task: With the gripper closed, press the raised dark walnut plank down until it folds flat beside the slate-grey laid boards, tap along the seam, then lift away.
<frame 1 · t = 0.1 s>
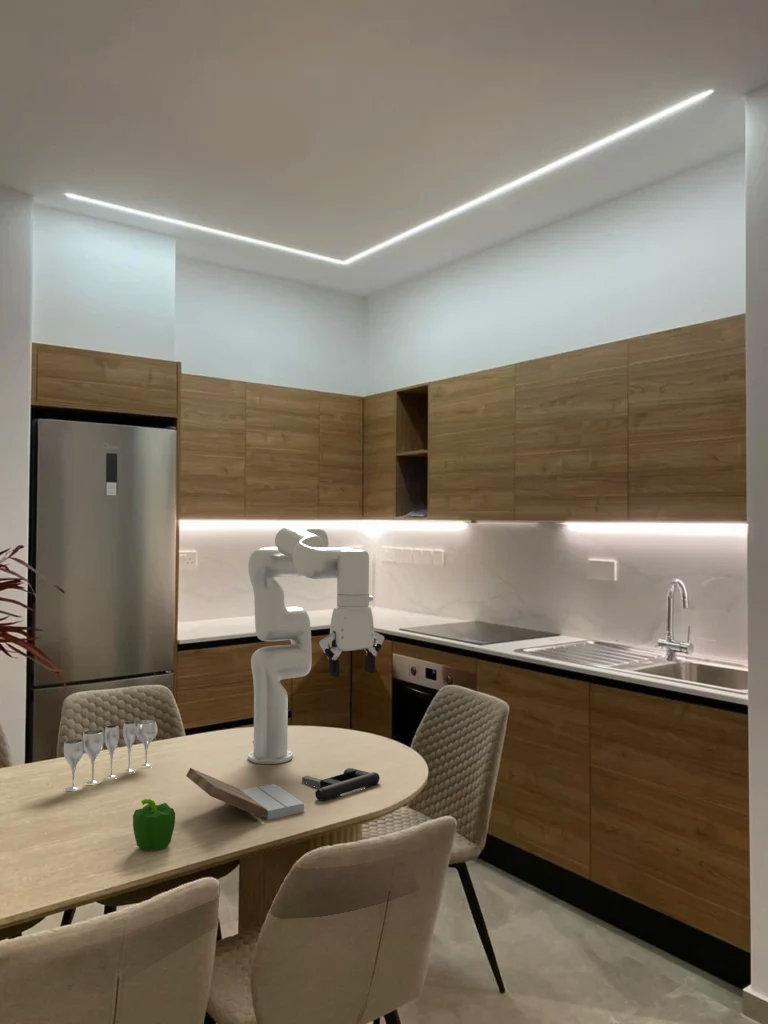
hand: (352, 674, 184), 31 cm above the table, tool pointing down, fingers open, 9 cm apart
goblet set: (112, 777, 204), on the table
door handle: (334, 788, 198), on the table
bell pepper: (153, 847, 160), on the table
laid boards: (271, 805, 184), on the table
plank: (225, 792, 178), point 5 cm above the table, hinge at 30.0°
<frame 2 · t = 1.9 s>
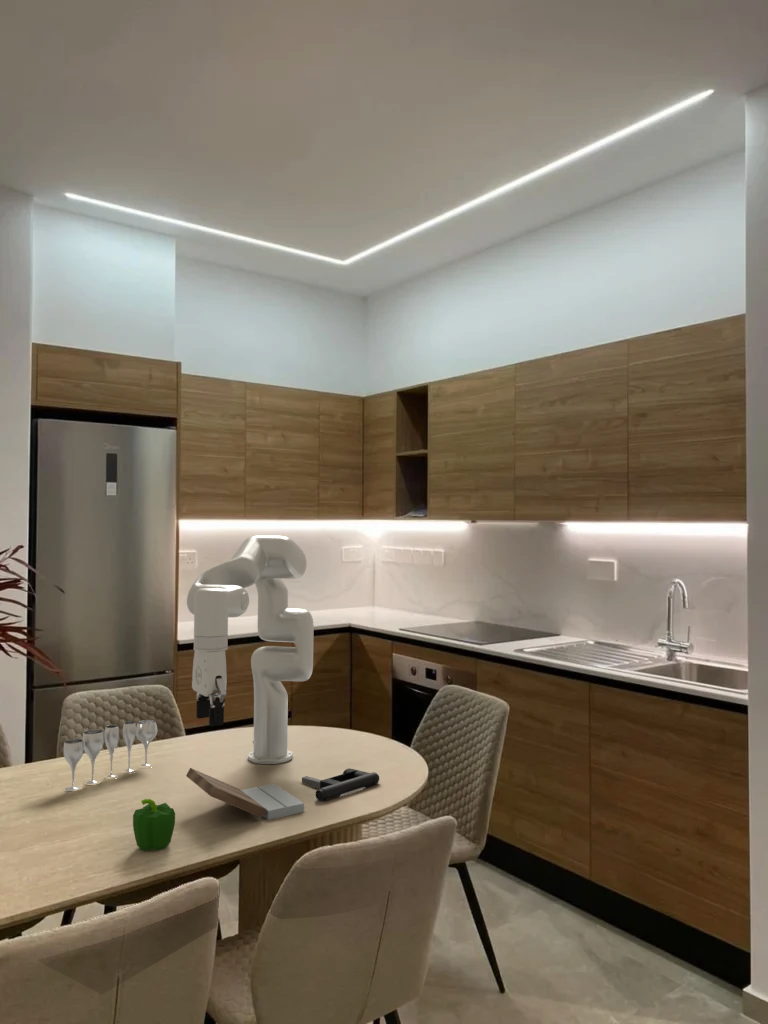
hand: (209, 720, 176), 22 cm above the table, tool pointing down, fingers open, 7 cm apart
nothing on the table moved.
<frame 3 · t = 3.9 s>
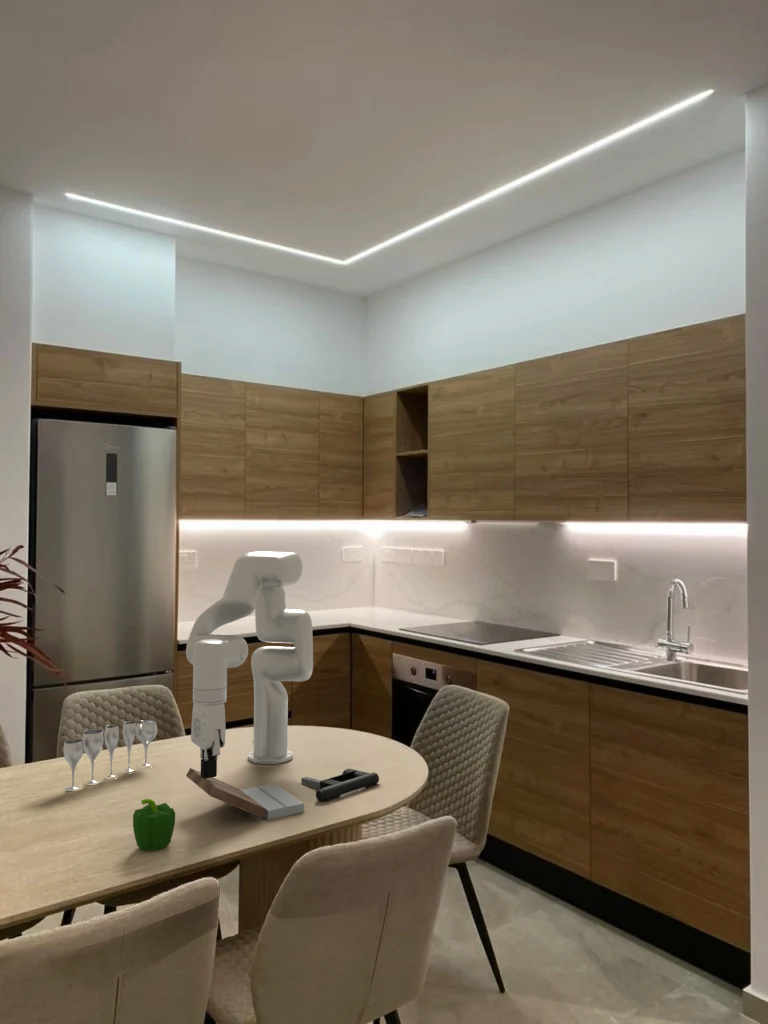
hand: (208, 776, 176), 9 cm above the table, tool pointing down, fingers closed
plank: (225, 792, 178), point 5 cm above the table, hinge at 29.9°, touching gripper
everything else where it was.
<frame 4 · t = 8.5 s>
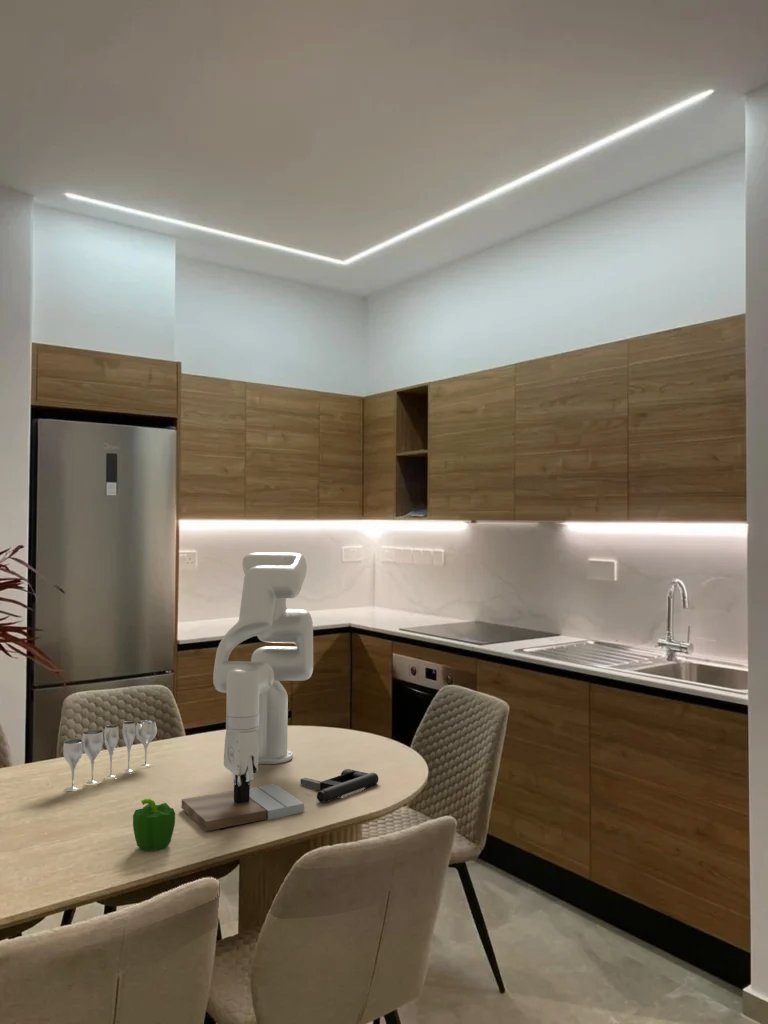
hand: (241, 801, 180), 2 cm above the table, tool pointing down, fingers closed
plank: (223, 809, 178), point 1 cm above the table, hinge at 1.2°, touching gripper
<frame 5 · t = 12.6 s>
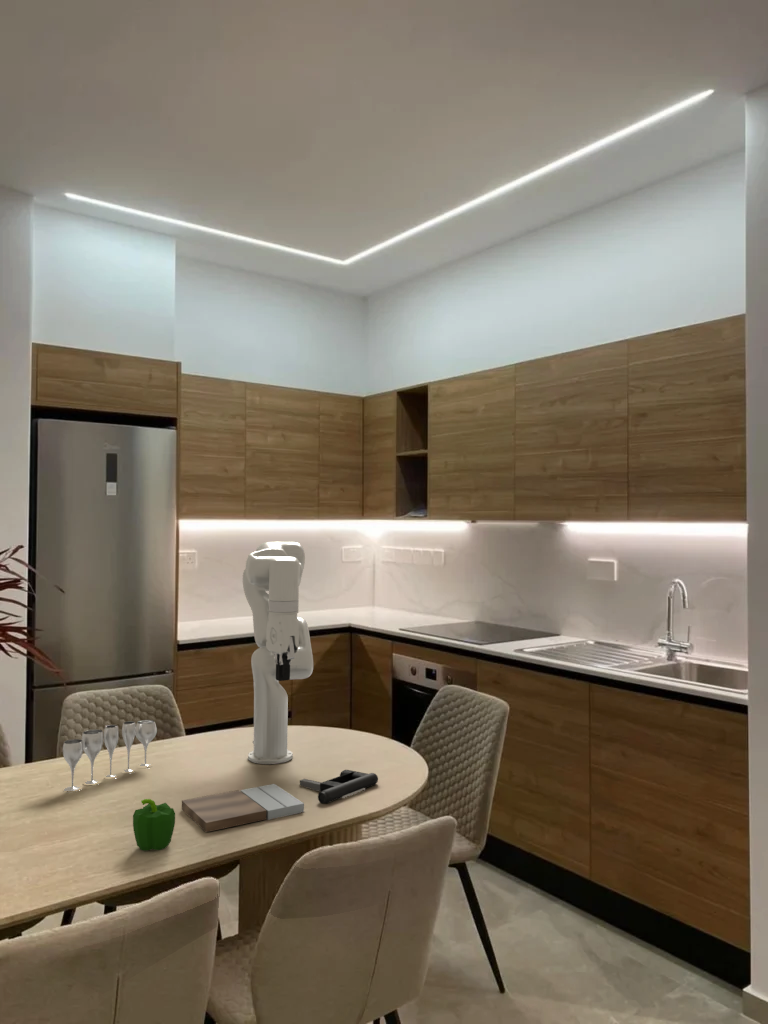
hand: (282, 679, 197), 27 cm above the table, tool pointing down, fingers closed
plank: (223, 809, 178), point 1 cm above the table, hinge at 0.1°
at the end: plank at +0° (first picture: +30°); the gripper is holding nothing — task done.
